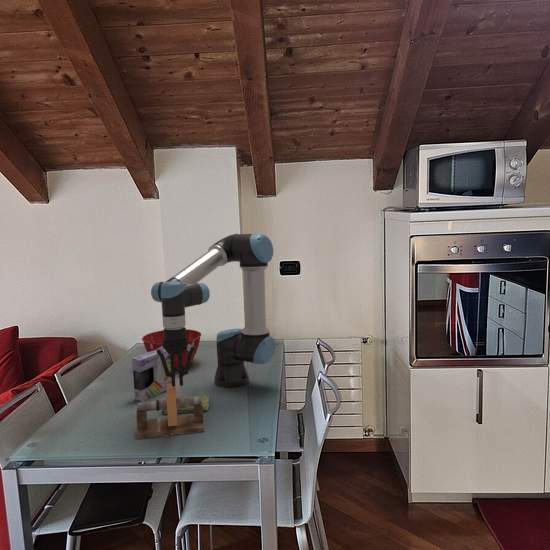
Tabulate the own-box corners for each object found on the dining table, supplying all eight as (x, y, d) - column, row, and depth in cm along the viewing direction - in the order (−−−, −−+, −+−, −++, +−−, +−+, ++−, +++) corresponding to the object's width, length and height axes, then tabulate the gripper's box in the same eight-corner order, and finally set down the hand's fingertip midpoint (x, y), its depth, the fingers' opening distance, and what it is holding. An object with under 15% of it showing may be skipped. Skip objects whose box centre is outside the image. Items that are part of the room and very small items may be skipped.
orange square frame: (177, 412, 173) (175, 382, 172) (177, 425, 162) (175, 393, 161) (168, 413, 172) (166, 383, 171) (168, 426, 161) (166, 394, 160)
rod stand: (202, 417, 175) (200, 390, 174) (204, 431, 164) (202, 402, 162) (139, 424, 171) (137, 396, 170) (136, 439, 159) (134, 409, 158)
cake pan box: (140, 403, 192) (137, 359, 190) (131, 400, 194) (128, 357, 192) (175, 388, 208) (172, 347, 206) (166, 386, 210) (164, 346, 208)
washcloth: (209, 413, 180) (209, 404, 180) (161, 416, 178) (160, 408, 178) (209, 400, 193) (209, 392, 193) (164, 403, 191) (164, 395, 191)
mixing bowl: (208, 369, 232) (207, 338, 230) (147, 378, 221) (145, 345, 220) (195, 355, 258) (194, 326, 256) (140, 362, 247) (138, 332, 246)
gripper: (154, 331, 159) (158, 400, 162) (194, 328, 162) (197, 396, 164) (154, 326, 166) (158, 393, 169) (193, 323, 169) (196, 389, 172)
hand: (178, 394), depth 167 cm, fingers closed
